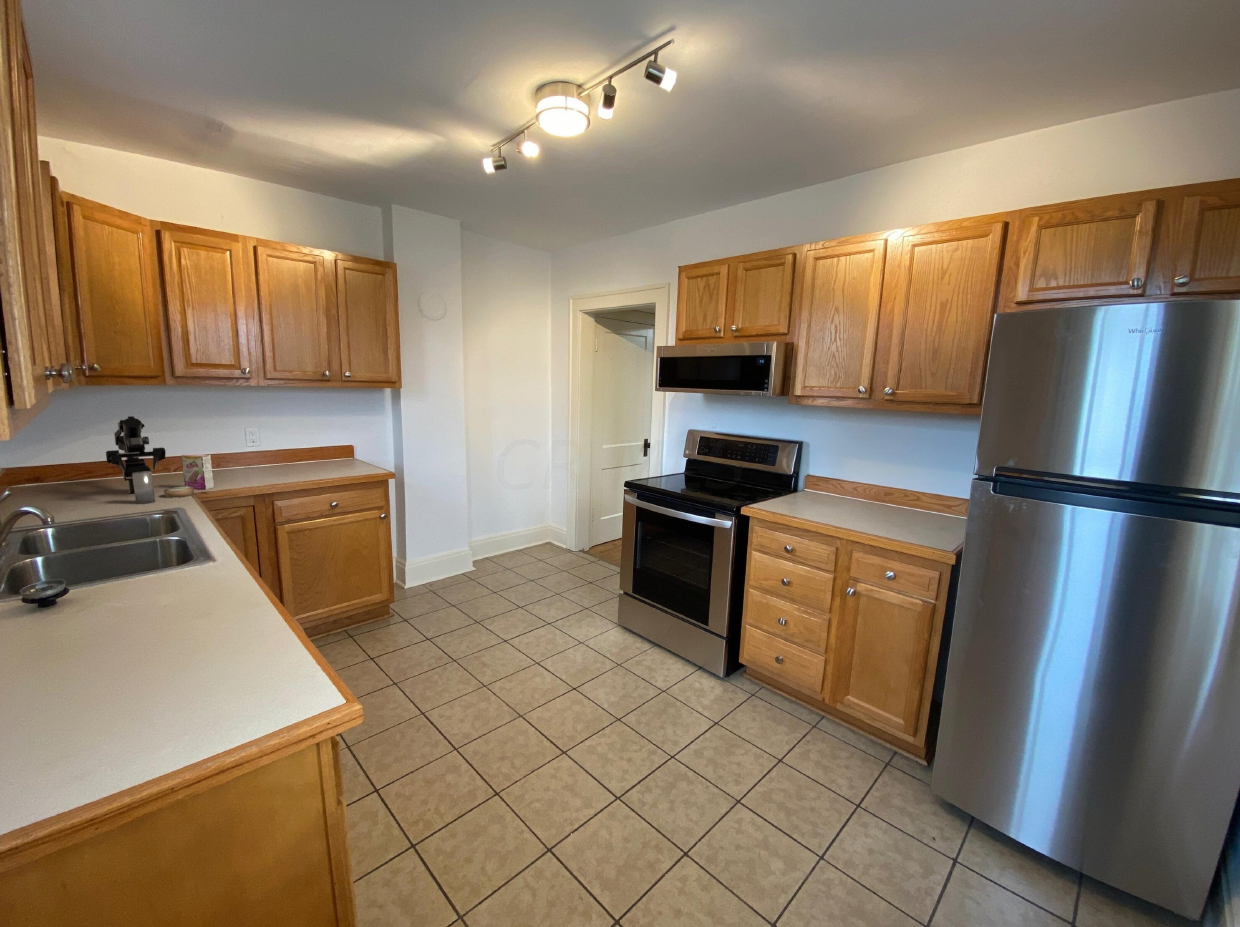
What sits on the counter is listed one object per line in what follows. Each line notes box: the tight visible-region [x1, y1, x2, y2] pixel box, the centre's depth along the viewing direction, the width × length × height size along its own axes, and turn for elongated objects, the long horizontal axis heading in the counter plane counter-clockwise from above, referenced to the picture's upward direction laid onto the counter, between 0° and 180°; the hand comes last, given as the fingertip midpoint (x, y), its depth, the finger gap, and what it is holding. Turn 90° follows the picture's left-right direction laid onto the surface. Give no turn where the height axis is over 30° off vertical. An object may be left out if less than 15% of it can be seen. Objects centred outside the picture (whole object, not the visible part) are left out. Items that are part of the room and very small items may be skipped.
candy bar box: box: [180, 453, 215, 490], centre depth 242 cm, size 11×5×16 cm, turn 84°
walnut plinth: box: [163, 486, 195, 498], centre depth 229 cm, size 10×10×3 cm
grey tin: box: [132, 470, 156, 505], centre depth 214 cm, size 6×6×13 cm
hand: (139, 470), depth 218 cm, fingers open, 9 cm apart
